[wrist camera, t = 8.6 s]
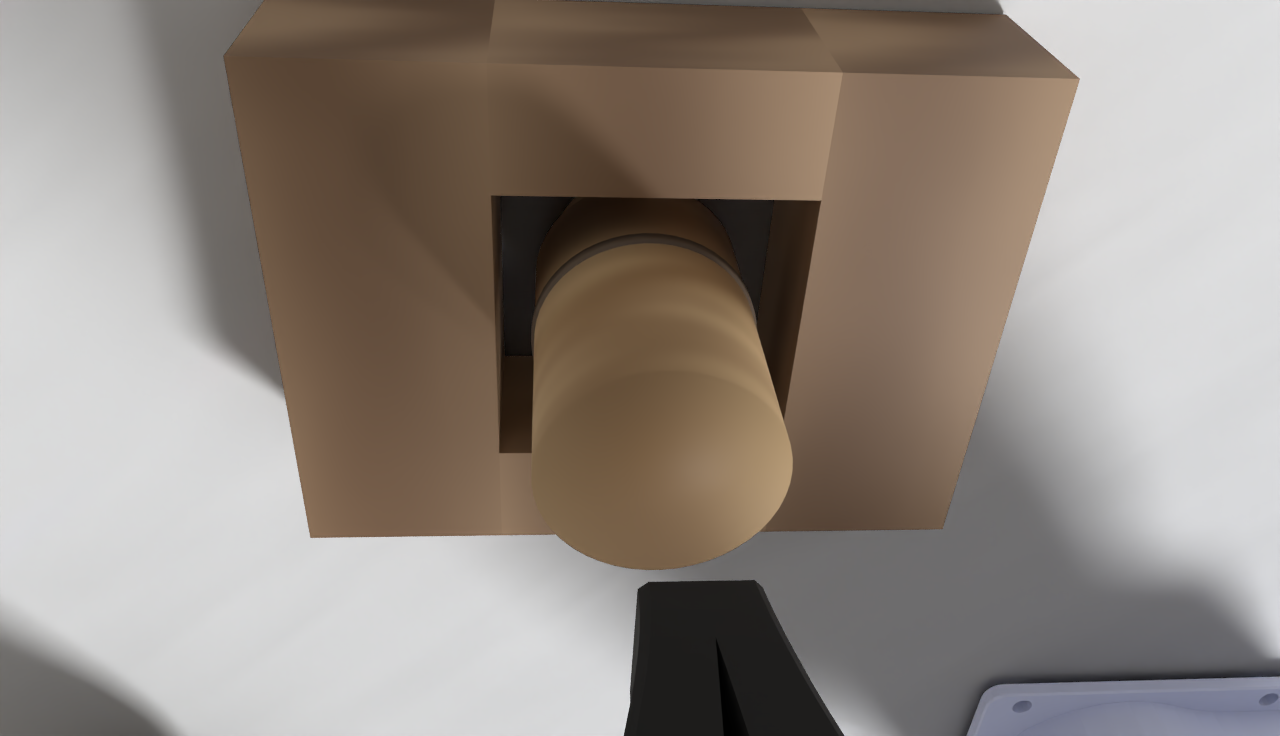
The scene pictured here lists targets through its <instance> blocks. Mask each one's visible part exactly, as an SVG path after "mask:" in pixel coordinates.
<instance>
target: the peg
mask: <svg viewBox="0 0 1280 736" xmlns="http://www.w3.org/2000/svg"><path fill="white" fill-rule="evenodd" d="M531 347H532V354H533V359H534V373H533V418H532V464H531V485H532V491H533V497H534V499H535V502H536V505H537V508H538V510H539V512H540V514H541V515H542V517H543V519H544V521H545V522H546V523H547V525H548V526H549V527H550V528H551V530H552V531H553V532H554V533H555V534H556V535H557V536H558V537H559V538H560V539H561V540H563V541H564V542H565V543H567V544H568V545H569V546H571V547H572V548H574V549H575V550H577V551H579V552H581V553H583V554H584V555H586V556H588V557H591V558H593V559H596V560H598V561H601V562H604V563H608V564H611V565H614V566H620V567H625V568H631V569H642V570H663V569H674V568H681V567H686V566H691V565H695V564H699V563H702V562H705V561H709V560H711V559H714V558H716V557H719V556H721V555H724V554H726V553H727V552H729V551H731V550H733V549H735V548H737V547H739V546H740V545H742V544H743V543H745V542H746V541H748V540H749V539H750V538H752V537H753V536H754V535H755V534H757V533H758V532H759V531H760V530H761V529H762V528H763V527H764V526H765V525H766V524H767V523H768V522H769V521H770V520H771V518H772V517H773V516H774V514H775V513H776V512H777V510H778V509H779V507H780V506H781V504H782V502H783V500H784V498H785V496H786V494H787V491H788V488H789V485H790V481H791V476H792V470H793V456H792V450H791V444H790V441H789V437H788V434H787V431H786V427H785V424H784V420H783V417H782V414H781V410H780V407H779V403H778V400H777V397H776V393H775V390H774V386H773V383H772V380H771V376H770V373H769V369H768V366H767V363H766V359H765V356H764V352H763V349H762V346H761V342H760V339H759V335H758V332H757V322H756V316H755V311H754V307H753V304H752V301H751V298H750V295H749V292H748V290H747V288H746V286H745V284H744V282H743V280H742V278H741V274H740V271H739V267H738V264H737V261H736V257H735V254H734V250H733V247H732V244H731V241H730V238H729V236H728V234H727V232H726V230H725V228H724V227H723V225H722V224H721V222H720V221H719V220H718V218H717V217H716V216H715V215H714V214H713V213H712V212H711V211H710V210H709V209H708V208H707V207H706V206H704V205H703V204H702V203H701V202H699V201H698V200H696V199H687V198H622V197H575V198H574V199H573V200H572V201H571V203H570V204H569V205H568V206H567V207H566V209H565V210H564V212H563V213H562V215H561V216H560V217H559V218H558V219H557V220H556V221H555V222H554V223H553V225H552V226H551V228H550V229H549V231H548V232H547V234H546V236H545V238H544V240H543V242H542V244H541V247H540V250H539V253H538V257H537V263H536V282H535V309H534V312H533V318H532V325H531Z"/></svg>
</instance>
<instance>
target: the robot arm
mask: <svg viewBox="0 0 1280 736" xmlns="http://www.w3.org/2000/svg"><path fill="white" fill-rule="evenodd" d="M624 736H844V734H843V733H842V731H841V730H840V728H839V726H838V725H837V723H836V722H835V720H834V718H833V717H832V715H831V714H830V712H829V711H828V709H827V707H826V706H825V704H824V702H823V701H822V699H821V697H820V696H819V694H818V692H817V691H816V689H815V687H814V685H813V684H812V682H811V680H810V678H809V677H808V675H807V673H806V671H805V670H804V668H803V666H802V664H801V662H800V661H799V659H798V657H797V655H796V654H795V652H794V650H793V648H792V646H791V644H790V642H789V640H788V639H787V637H786V635H785V633H784V631H783V629H782V627H781V625H780V623H779V621H778V619H777V617H776V615H775V613H774V611H773V609H772V607H771V605H770V603H769V600H768V598H767V596H766V594H765V592H764V589H763V587H761V586H760V585H759V584H758V583H757V582H756V581H755V580H741V581H680V582H648V583H646V584H645V585H643V586H642V587H640V588H639V589H638V592H637V606H636V619H635V633H634V646H633V660H632V673H631V686H630V708H629V713H628V718H627V723H626V728H625V733H624ZM967 736H1280V677H1245V678H1209V679H1172V680H1136V681H1099V682H1063V683H1026V684H1001V685H996V686H993V687H991V688H989V689H988V690H986V691H985V692H984V694H983V695H982V697H981V699H980V702H979V705H978V707H977V710H976V712H975V715H974V718H973V720H972V723H971V725H970V728H969V731H968V733H967Z"/></svg>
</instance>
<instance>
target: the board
mask: <svg viewBox="0 0 1280 736" xmlns="http://www.w3.org/2000/svg"><path fill="white" fill-rule="evenodd" d="M224 62H225V67H226V73H227V78H228V84H229V89H230V95H231V100H232V106H233V112H234V117H235V123H236V128H237V134H238V139H239V145H240V150H241V156H242V161H243V167H244V172H245V178H246V183H247V189H248V195H249V200H250V206H251V211H252V217H253V222H254V228H255V233H256V239H257V244H258V250H259V255H260V261H261V267H262V272H263V278H264V283H265V289H266V294H267V300H268V305H269V311H270V316H271V322H272V327H273V333H274V338H275V344H276V350H277V355H278V361H279V366H280V372H281V377H282V383H283V388H284V394H285V399H286V405H287V410H288V416H289V422H290V427H291V433H292V438H293V444H294V449H295V455H296V460H297V466H298V471H299V477H300V482H301V488H302V493H303V499H304V505H305V510H306V516H307V521H308V527H309V532H310V538H328V537H402V536H476V535H550V534H555V533H554V532H553V531H552V530H551V528H550V527H549V526H548V525H547V523H546V522H545V521H544V519H543V517H542V515H541V514H540V512H539V510H538V508H537V505H536V502H535V499H534V497H533V491H532V485H531V464H532V418H533V373H534V359H533V356H505V346H504V308H503V271H502V234H501V197H500V196H557V197H622V198H687V199H752V200H774V205H773V212H772V219H771V226H770V233H769V240H768V247H767V255H766V262H765V269H764V276H763V283H762V290H761V297H760V304H759V311H758V319H757V332H758V335H759V339H760V342H761V346H762V349H763V352H764V356H765V359H766V363H767V366H768V369H769V373H770V376H771V380H772V383H773V386H774V390H775V393H776V397H777V400H778V403H779V407H780V410H781V414H782V417H783V420H784V424H785V427H786V431H787V434H788V437H789V441H790V444H791V450H792V456H793V470H792V476H791V481H790V485H789V488H788V491H787V494H786V496H785V498H784V500H783V502H782V504H781V506H780V507H779V509H778V510H777V512H776V513H775V514H774V516H773V517H772V518H771V520H770V521H769V522H768V523H767V524H766V525H765V526H764V527H763V528H762V529H761V530H760V531H759V532H771V531H845V530H919V529H943V526H944V522H945V519H946V516H947V513H948V509H949V506H950V503H951V500H952V496H953V493H954V490H955V486H956V483H957V480H958V477H959V473H960V470H961V467H962V463H963V460H964V457H965V454H966V450H967V447H968V444H969V441H970V437H971V434H972V431H973V427H974V424H975V421H976V418H977V414H978V411H979V408H980V404H981V401H982V398H983V395H984V391H985V388H986V385H987V382H988V378H989V375H990V372H991V368H992V365H993V362H994V359H995V355H996V352H997V349H998V345H999V342H1000V339H1001V336H1002V332H1003V329H1004V326H1005V323H1006V319H1007V316H1008V313H1009V309H1010V306H1011V303H1012V300H1013V296H1014V293H1015V290H1016V286H1017V283H1018V280H1019V277H1020V273H1021V270H1022V267H1023V264H1024V260H1025V257H1026V254H1027V250H1028V247H1029V244H1030V241H1031V237H1032V234H1033V231H1034V227H1035V224H1036V221H1037V218H1038V214H1039V211H1040V208H1041V205H1042V201H1043V198H1044V195H1045V191H1046V188H1047V185H1048V182H1049V178H1050V175H1051V172H1052V168H1053V165H1054V162H1055V159H1056V155H1057V152H1058V149H1059V146H1060V142H1061V139H1062V136H1063V132H1064V129H1065V126H1066V123H1067V119H1068V116H1069V113H1070V109H1071V106H1072V103H1073V100H1074V96H1075V93H1076V90H1077V87H1078V83H1079V80H1080V79H1079V78H1078V77H1077V76H1076V75H1075V74H1074V73H1072V72H1071V71H1070V70H1069V69H1068V68H1067V67H1065V66H1064V65H1063V64H1062V63H1061V62H1060V61H1059V60H1057V59H1056V58H1055V57H1054V56H1053V55H1052V54H1051V53H1049V52H1048V51H1047V50H1046V49H1045V48H1044V47H1043V46H1041V45H1040V44H1039V43H1038V42H1037V41H1036V40H1034V39H1033V38H1032V37H1031V36H1030V35H1029V34H1028V33H1026V32H1025V31H1024V30H1023V29H1022V28H1021V27H1020V26H1018V25H1017V24H1016V23H1015V22H1014V21H1013V20H1011V19H1010V18H1009V17H1008V16H1007V15H999V14H968V13H936V12H905V11H874V10H843V9H812V8H781V7H750V6H719V5H688V4H657V3H626V2H595V1H564V0H264V1H263V3H262V4H261V6H260V7H259V8H258V10H257V11H256V12H255V14H254V15H253V16H252V18H251V19H250V21H249V22H248V23H247V25H246V26H245V27H244V29H243V30H242V32H241V33H240V34H239V36H238V37H237V38H236V40H235V41H234V42H233V44H232V45H231V47H230V48H229V49H228V51H227V52H226V53H225V55H224Z"/></svg>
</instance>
